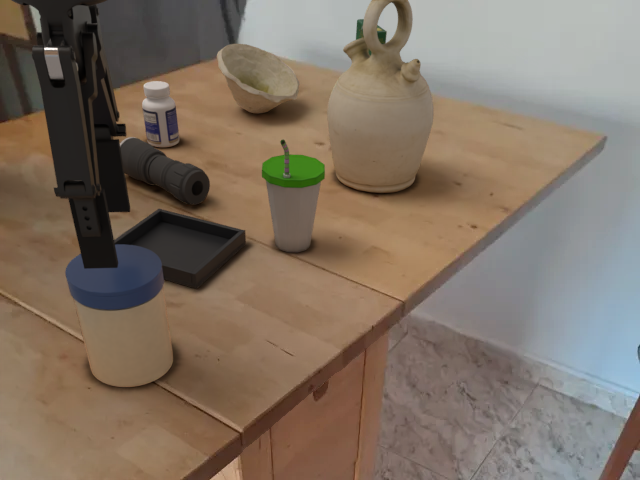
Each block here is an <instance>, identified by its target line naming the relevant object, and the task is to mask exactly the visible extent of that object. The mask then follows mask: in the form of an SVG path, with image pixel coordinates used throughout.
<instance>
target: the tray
mask: <svg viewBox="0 0 640 480" xmlns="http://www.w3.org/2000/svg"><path fill="white" fill-rule="evenodd" d="M246 236H247V235H246V230H245V229H241V228H237V227H233V226H231V225H225V224H221V223H217V222H214V221H210V220H207V219H202V218H198V217H194V216H191V215H186V214H182V213H178V212H175V211H170V210H167V209H162V208H157V209H156V210H155V211H153V212H152V213H150V214H149V215H147V216H146V217H145V218H143V219H142V220H140V221H139V222H137V223H136V224H135V225H133V226H132V227H130V228H129V229H128V230H126V231H125V232H123V233H122V234H120V235H119V236H118V237H116V238H115V239H114V243H115V245H118V244H125V245H134V246H139V247H143V248H146V249H148V250H151V251H152V252H154V253H155V254H156V255H157V256H158V257H159V258H160V260H161V263H162V269H163V276H164V281H168V282H171V283H175V284H179V285H182V286H185V287H190V288H193V289H196V290H197V289H198V288H199V287H201V286H202V285H203V284H204V283H205V282H206V281H207V280H208V279H209V278H211V277H212V276H213V275H214V274H215V273H216V272H217V271H218V270H219V269H221V268H222V267H223V266H224V265H225V264H226V263H227V262H228V261H229V260H231V259H232V257H234V256H235V255H236V254H237V253H238V252H239V251H240V250H241V249H243V248H244V247H245V246H246V245H247V238H246Z"/></svg>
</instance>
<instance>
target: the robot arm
mask: <svg viewBox="0 0 640 480" xmlns="http://www.w3.org/2000/svg"><path fill="white" fill-rule="evenodd" d="M11 1H12V3H13V2H14V3H16V4H17V5H21V6H30V7H33V8H34V9H35V10H37V11H38V15H39V17H40V18H39V23H40V24H39V25H40V30H41V31H37V32H36V43H37V44H36V45H32V48H31V49H32V50H31V58H32V60H33V62H34V67H35V70H36V74H37V78H38V83H39V86H40V93H41V98H42V103H43V109H44V117H45V123H46V128H47V133H48V141H49V147H50V151H51V158H52V162H53V169H54V175H55V181H56V187H53V192H54V195H55V197H57V198H58V197H59V198H60V199H68V204H69V208H70V213H71V218H72V222H73V225H74V230H75V235H76V239H77V243H78V249H79V251H80V254H81V256H82V261H83V265H84V269H90V268H117V267H118V258H117V253H116V248H115V243H114V240H115V239H114V238H115V237H114V232H113V228H112V223H111V217H110V213H130V212H131V204H130V203H131V202H130V198H129V191H128V185H127V180H126V174H125V173H124V167H123V161H122V155H121V149H120V143H121V142H120V139H118V137H127V125H126V123H118V122H119V121H120V120H119V119H120V118H121V117H120V111H119V110H118V105H117V101H116V95H115V90H114V86H113V82H112V76H111V71H110V66H109V63H108V57H107V53H106V48H105V44H104V43H105V42H104V40H103V39H104V38H103V35H102V34H103V33H102V27H101V22H100V20H101V19H100V9H99V8H100V7H98V4H99V5H100V4H101V3H104V2H108V0H11ZM114 137H117V138H114Z"/></svg>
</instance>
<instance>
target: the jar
mask: <svg viewBox="0 0 640 480" xmlns="http://www.w3.org/2000/svg"><path fill="white" fill-rule="evenodd" d="M72 300H73V305H74V308H75V311H76V316H77V321H78V324H79V329H80V332H81V336H82V340H83V344H84V345H83V346H84V349H85V352H86V356H87V361H88V365H89V369H90V372H91V374H92V375H93V376H94V377H95V379H97V380H98V381H100V382H101V383H103V384H106V385H108V386H113V387H117V388H133V387H139V386H144V385H147V384H150V383H153V382H155V381H158V379H161V378H162V377H163V376H165V374H166V373H168V372H169V370H170V369H171V367H172V365H173V363H174V351H173V346H172V338H171V330H170V325H169V324H170V323H169V318H168V317H169V316H168V310H167V303H166V294H165V288H164V286H163V287H162V289H161V291H160V292H159V293H158V294H157V295H156V296H155V297H153V298H152V299H150V300H148V301H147V302H144V303H142V304H139V305H137V306H133V307H129V308H124V309H114V310H104V309H96V308H91V307H88V306H85V305H82V304H80V303H79V302H77V301H76V300H75V299H74V298H73V297H72Z"/></svg>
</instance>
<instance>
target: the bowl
mask: <svg viewBox="0 0 640 480" xmlns="http://www.w3.org/2000/svg"><path fill="white" fill-rule="evenodd" d="M216 61H217V65H218V69H219V70H220V71H221V72H220V73H221V74H222V75H223V76H224V78H225V81H226V84H227V87H228V89H229V90H230V93H231V95H232V98H233V100H234V101H235V102H236V104H237V105H238V106H239V107H240V108H241V109H243V110H244V111H247V112H249V113H253V114H265V113H267V112H270V111H272V109H275V108H276V107H278V106H280V105H281V104H283V103H286V102H290V101H295V100H297V98H298V94H299V91H300V90H299V88H300V87H299V86H300V81H299V79H298V77H297V75H296V73H295V71H294V70H293V68H291V67H290V66H289V65H288V64H287V63H286V62H285V61H284V60H282V58H280V57H279V56H277V55H276V54H274V53H272V52H269V51H266V50H265V49H262V48H259V47H256V46H253V45H250V44H246V43H231V44H227V45H226V46H224V47H222V48H221V49H219V50H218V51H217V54H216Z"/></svg>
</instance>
